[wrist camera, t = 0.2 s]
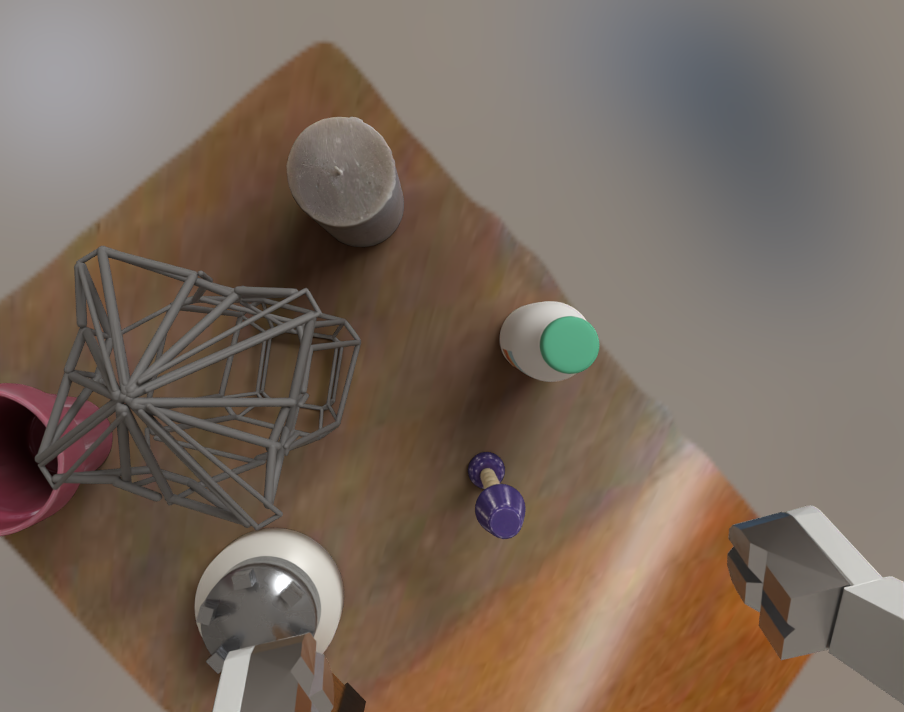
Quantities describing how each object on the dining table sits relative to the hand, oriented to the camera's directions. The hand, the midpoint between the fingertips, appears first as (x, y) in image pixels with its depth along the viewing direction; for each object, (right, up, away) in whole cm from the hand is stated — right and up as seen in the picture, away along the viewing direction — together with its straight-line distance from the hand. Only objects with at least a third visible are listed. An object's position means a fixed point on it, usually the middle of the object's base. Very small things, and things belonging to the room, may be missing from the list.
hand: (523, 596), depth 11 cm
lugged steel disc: (-19, -27, +52) cm, 61 cm away
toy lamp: (+3, -9, +55) cm, 55 cm away
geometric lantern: (-18, +4, +54) cm, 57 cm away
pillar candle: (-11, +22, +53) cm, 58 cm away
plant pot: (-44, -4, +54) cm, 70 cm away
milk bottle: (+8, +7, +54) cm, 55 cm away
